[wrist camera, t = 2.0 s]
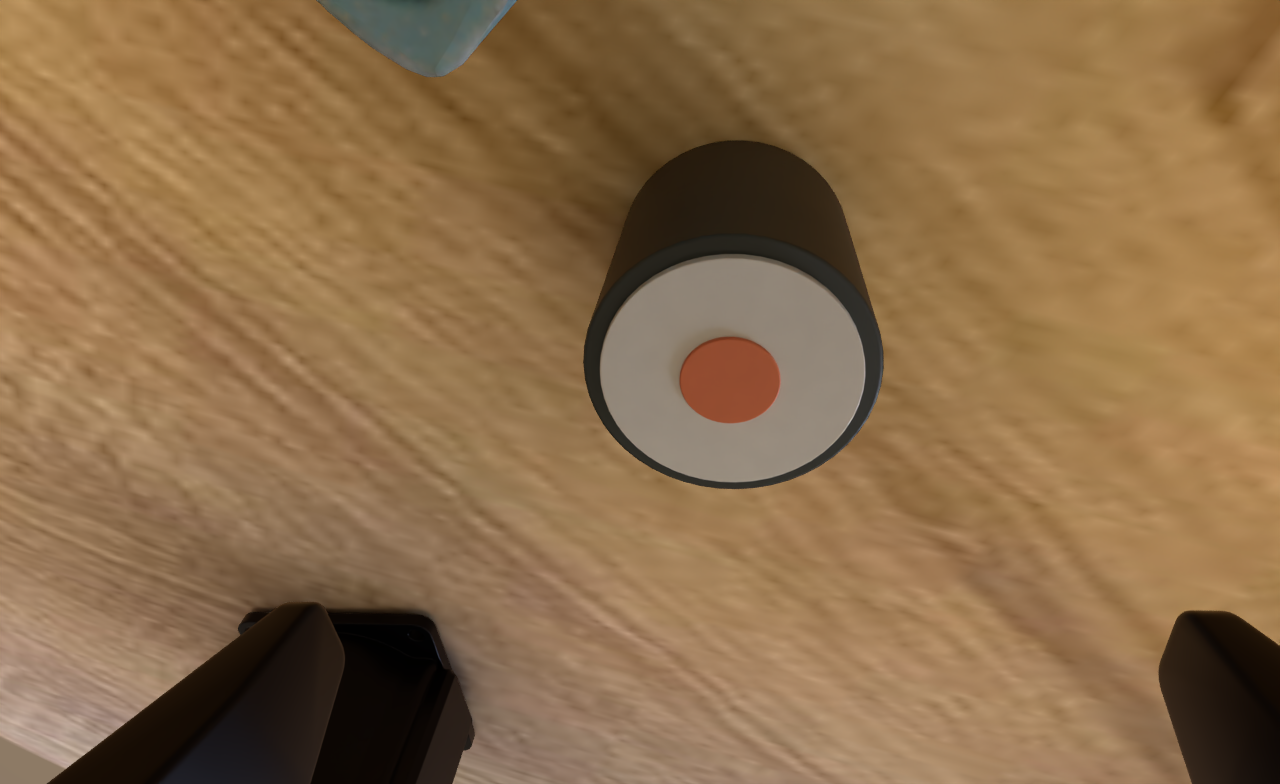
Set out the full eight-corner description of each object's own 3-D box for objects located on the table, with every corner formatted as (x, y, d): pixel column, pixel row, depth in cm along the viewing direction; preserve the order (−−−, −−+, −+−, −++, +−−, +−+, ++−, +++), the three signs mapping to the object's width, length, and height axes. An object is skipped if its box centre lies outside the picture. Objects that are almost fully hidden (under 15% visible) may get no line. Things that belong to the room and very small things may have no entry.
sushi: (635, 354, 18) (601, 500, 14) (608, 149, 16) (557, 250, 11) (844, 346, 18) (877, 497, 13) (852, 129, 15) (896, 229, 11)
